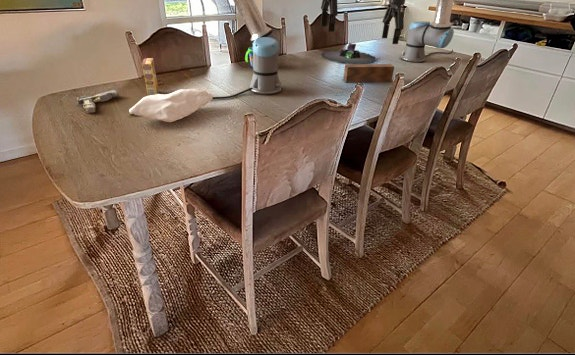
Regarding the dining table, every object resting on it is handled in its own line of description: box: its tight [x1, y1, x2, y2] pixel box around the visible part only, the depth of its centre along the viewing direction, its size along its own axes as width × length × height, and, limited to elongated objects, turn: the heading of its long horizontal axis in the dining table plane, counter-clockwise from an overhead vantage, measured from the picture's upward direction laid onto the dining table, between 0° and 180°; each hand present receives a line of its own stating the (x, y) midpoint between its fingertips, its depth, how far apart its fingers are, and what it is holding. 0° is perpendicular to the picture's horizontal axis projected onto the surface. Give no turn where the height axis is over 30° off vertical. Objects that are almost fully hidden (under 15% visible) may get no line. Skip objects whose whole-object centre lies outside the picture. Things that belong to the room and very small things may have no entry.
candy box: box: [141, 57, 160, 96], centre depth 163 cm, size 9×4×15 cm, turn 13°
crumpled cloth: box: [129, 88, 214, 123], centre depth 147 cm, size 24×35×9 cm
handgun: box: [76, 89, 120, 114], centre depth 155 cm, size 3×18×15 cm
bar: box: [342, 63, 395, 84], centre depth 194 cm, size 26×5×8 cm, turn 100°
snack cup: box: [244, 46, 253, 68], centre depth 208 cm, size 16×10×10 cm
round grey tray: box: [321, 42, 377, 64], centre depth 234 cm, size 35×35×9 cm
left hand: (327, 28), depth 174 cm, fingers open, 13 cm apart
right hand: (389, 41), depth 186 cm, fingers open, 13 cm apart
